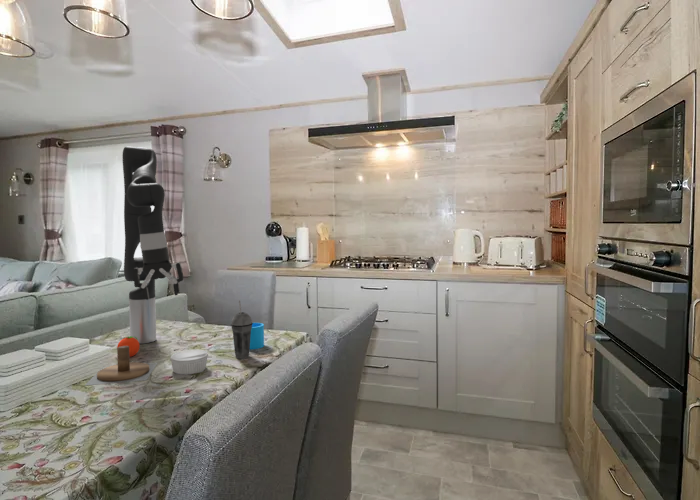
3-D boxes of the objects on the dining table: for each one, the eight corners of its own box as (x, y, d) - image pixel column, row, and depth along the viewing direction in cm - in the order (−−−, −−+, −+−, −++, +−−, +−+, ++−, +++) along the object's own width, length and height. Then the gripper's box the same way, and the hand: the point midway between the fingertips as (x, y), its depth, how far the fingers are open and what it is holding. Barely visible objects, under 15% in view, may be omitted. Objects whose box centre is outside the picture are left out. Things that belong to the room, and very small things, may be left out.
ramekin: (192, 379, 121) (191, 361, 121) (162, 374, 125) (161, 357, 125) (215, 367, 132) (215, 351, 132) (187, 363, 135) (187, 347, 135)
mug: (264, 348, 152) (264, 327, 151) (241, 350, 150) (241, 328, 149) (263, 340, 163) (263, 319, 163) (242, 341, 161) (242, 321, 161)
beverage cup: (256, 354, 144) (256, 298, 143) (245, 361, 137) (244, 302, 136) (239, 352, 147) (238, 297, 146) (227, 358, 140) (226, 301, 139)
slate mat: (103, 368, 130) (103, 366, 130) (157, 364, 134) (157, 362, 134) (84, 387, 115) (84, 385, 115) (146, 381, 119) (146, 380, 119)
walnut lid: (105, 367, 129) (105, 342, 129) (153, 363, 133) (153, 339, 133) (89, 383, 116) (88, 356, 116) (143, 379, 120) (142, 352, 119)
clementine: (129, 352, 147) (129, 332, 146) (146, 353, 145) (146, 334, 145) (112, 359, 139) (111, 338, 139) (130, 360, 138) (129, 340, 137)
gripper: (179, 243, 134) (186, 291, 136) (132, 249, 130) (140, 298, 132) (177, 245, 127) (184, 295, 129) (126, 251, 123) (135, 303, 125)
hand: (162, 297), depth 131 cm, fingers open, 8 cm apart
